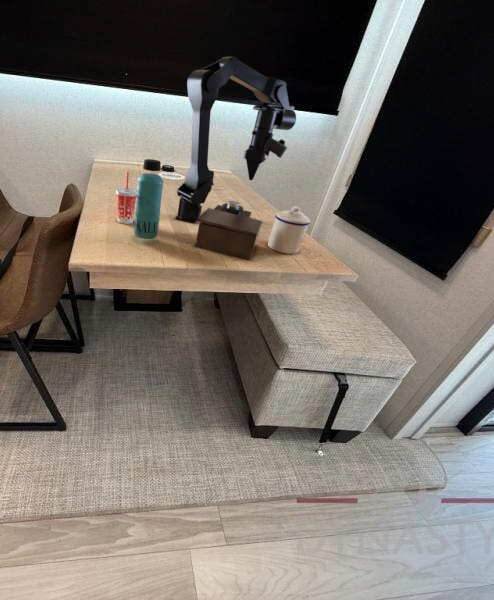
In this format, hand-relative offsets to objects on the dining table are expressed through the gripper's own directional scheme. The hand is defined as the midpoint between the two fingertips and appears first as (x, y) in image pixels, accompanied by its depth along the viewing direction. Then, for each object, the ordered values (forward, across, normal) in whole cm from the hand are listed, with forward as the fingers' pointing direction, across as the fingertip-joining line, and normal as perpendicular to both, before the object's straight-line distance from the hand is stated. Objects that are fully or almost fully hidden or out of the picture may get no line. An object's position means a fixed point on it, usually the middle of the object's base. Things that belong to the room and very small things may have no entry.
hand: (250, 180), depth 110 cm
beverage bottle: (+12, -43, +19) cm, 48 cm away
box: (+12, -33, -1) cm, 35 cm away
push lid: (+8, -7, +3) cm, 11 cm away
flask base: (+12, -7, +3) cm, 14 cm away
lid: (+5, -33, -1) cm, 33 cm away
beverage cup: (+12, -33, +30) cm, 46 cm away
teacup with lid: (+12, -23, -15) cm, 30 cm away
